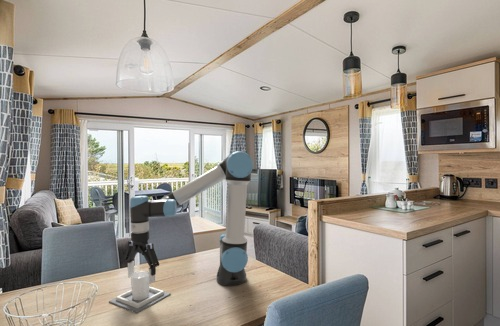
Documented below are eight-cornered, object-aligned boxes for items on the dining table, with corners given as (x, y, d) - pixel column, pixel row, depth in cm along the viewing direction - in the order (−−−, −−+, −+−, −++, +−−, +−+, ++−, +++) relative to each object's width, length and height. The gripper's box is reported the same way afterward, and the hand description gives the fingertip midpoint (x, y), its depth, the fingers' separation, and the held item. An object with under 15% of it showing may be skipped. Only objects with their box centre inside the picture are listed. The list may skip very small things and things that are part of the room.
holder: (170, 294, 127) (170, 290, 127) (136, 313, 111) (136, 308, 111) (143, 286, 136) (143, 281, 136) (108, 302, 120) (108, 297, 120)
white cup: (131, 303, 118) (131, 279, 118) (130, 295, 125) (130, 272, 125) (151, 298, 122) (151, 275, 122) (148, 291, 129) (148, 269, 129)
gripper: (114, 230, 126) (115, 277, 126) (152, 236, 114) (154, 288, 114) (129, 226, 133) (130, 271, 133) (166, 232, 120) (168, 281, 120)
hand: (141, 279), depth 123 cm, fingers open, 13 cm apart
